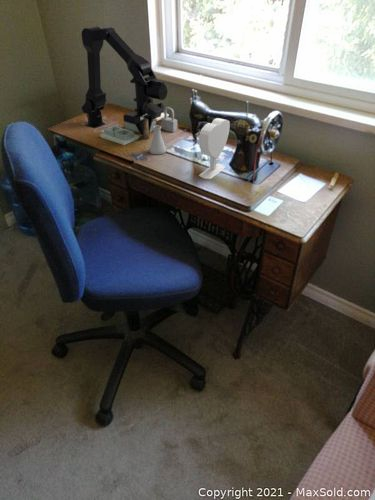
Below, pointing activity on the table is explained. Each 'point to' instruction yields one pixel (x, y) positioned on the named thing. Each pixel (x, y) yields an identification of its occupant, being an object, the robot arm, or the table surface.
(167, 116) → the cover
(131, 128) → the box
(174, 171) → the table surface
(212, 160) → the heart sculpture
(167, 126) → the padlock
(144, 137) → the dowel
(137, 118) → the robot arm
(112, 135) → the build board
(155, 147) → the flask
